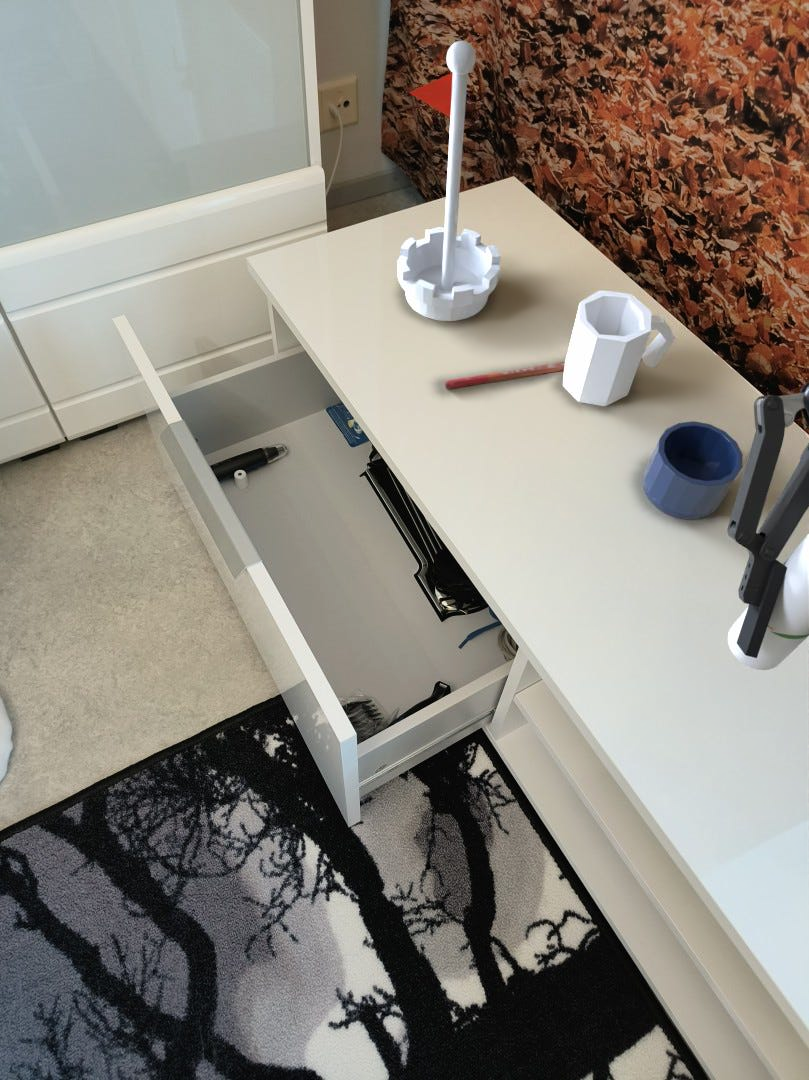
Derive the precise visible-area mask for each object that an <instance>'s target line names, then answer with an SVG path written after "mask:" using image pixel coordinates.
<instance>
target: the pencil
mask: <svg viewBox="0 0 809 1080" xmlns="http://www.w3.org/2000/svg"><path fill="white" fill-rule="evenodd" d="M564 367H565V361H561V362H555V363H549V364H548V363H547V364H542V365H536V366H529V367H524V368H523V367H522V368H518V369H517V368H516V369H512V370H505V371H498V372H493V373H487V374H480V375H473V376H468V377H462V378H455V379H449V380H445V382H444V387H445V389H446V390H450V389H456V388H457V389H458V388H462V387H469V386H477V385H481V384H487V383H488V384H489V383H495V382H501V381H506V380H513V379H519V378H525V377H532V376H540V375H545V374H549V373H556V372H557V373H558V372H564Z"/></svg>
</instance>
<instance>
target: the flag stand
mask: <svg viewBox="0 0 809 1080" xmlns="http://www.w3.org/2000/svg"><path fill="white" fill-rule="evenodd" d="M476 55H477V54H476V51H475V48H474V46H473V45H472V44H471V43H470V42H468V41H466V40H457V41H454V42H453V43H452V44H451V46H450V47H449V48H448V50H447V53H446V65H447V67H448V69H449V71H450V73H448V74H446V75H444V76H442V77H440V78H437V79H435V80H433V81H431V82H429V83H426V84H424V85H422V86H419V87H418V88H415V89H413V90H411V91H409V92H408V93H409V94H410V95H412V96H414V97H415V98H417V99H419V100H421V101H422V102H424V103H425V104H427V105H429V106H430V107H432V108H434V109H435V110H437V111H438V112H440V113H442V114H443V115H445V116H447V117H448V118H449V119H450V122H449V134H448V135H449V139H448V156H447V157H448V158H447V173H446V192H445V193H446V194H445V212H444V226H440V227H439V226H438V227H433V228H428V229H427V228H426V229H425V237H423V238H421V239H418V240H417V239H415V238H413V237H411V236H410V237H408V238H407V239H406V240H405V241H404V242H403V244H402V245H401V246H400V250H399V251H400V255H399V258H398V259H397V261H396V263H397V279H398V282H399V284H400V286H401V289H403V290H404V291H405V293H404V294H405V298H406V301H407V303H408V304H409V306H410V307H411V308H412V310H414V311H415V312H417V313H418V314H419V315H420V316H423V317H425V318H427V319H432V320H436V321H439V322H454V321H455V322H456V321H463V320H465V319H468V318H470V317H473V316H475V315H476V314H478V313H480V312H481V311H482V310H483V308H485V307H486V305H487V303H488V300H489V296H490V294H491V293H493V292H494V291H495V288H496V287H497V286H498V283H499V278H500V271H501V269H500V261H501V254H500V251H499V249H498V248H497V247H496V245H495V244H491V245H488V246H487V245H485V244H484V243H483V242H482V241H481V240H482V234H480V233H478V232H477V231H474V230H470V229H467V228H463V229H462V231H461V234H460V235H457V234H458V233H457V232H458V219H459V218H458V217H459V204H460V191H461V190H460V189H461V176H462V164H463V163H462V162H463V146H464V133H465V132H464V131H465V119H466V117H465V116H466V103H467V91H468V90H467V86H468V75H469V73H470V72H471V71H472V70H473V68H474V67H475V64H476V58H477V56H476Z"/></svg>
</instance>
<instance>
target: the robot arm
mask: <svg viewBox="0 0 809 1080" xmlns="http://www.w3.org/2000/svg"><path fill="white" fill-rule="evenodd" d="M799 411H801V413H802V415H803V416H802V417H803V418H804V422H805V424H806V426H807V429H808V430H809V380H808V381H807V382H806V383H805V384H804V385H803V386H802V387H801V389H800V391H799V392H796V393H790V394H784V395H783V394H782V395H761V396H758V397H757V398H756V399H755V400H754V402H753V415H754V427H755V433H754V436H753V440H752V443H751V446H750V449H749V453H748V457H747V460H746V463H745V466H744V470H743V474H742V476H741V480H740V484H739V488H738V490H737V494H736V498H735V502H734V505H733V508H732V512H731V514H730V519H729V521H728V525H727V530H726V533H727V535H728V536H729V538H730V539H732V541H734V542H736V543H737V544H738V545H740V546H742V547H743V548H744V549H746V550H747V551H748V552H747V553H748V559H747V562H746V565H745V569H744V572H743V575H742V577H741V581H740V584H739V587H738V598H739V599H740V601H741V602H743V603H744V604H747V605H748V606H747V608H748V609H747V608H746V609H747V612H746V615H745V618H744V621H743V624H742V627H741V630H740V633H739V636H738V640H737V645H738V646H739V647H740V649H741V650H742V651H743V653H744V654H745V655H746V656H750V657H754V658H757V656H758V653H759V650H760V647H761V644H762V641H763V638H764V635H765V632H766V630H767V627H768V624H769V621H770V618H771V615H772V612H773V609H774V606H775V603H776V600H777V597H778V594H779V591H780V588H781V585H782V582H783V579H784V576H785V573H786V570H787V567H786V566H785V565H783V564H784V563H782V562H781V561H779V560H778V557H780V554H781V553H782V552H783V550H784V548H785V546H786V544H787V543H788V541H789V540H790V538H791V536H792V535H793V533H794V531H795V530H796V528H798V527H797V526H798V525H799V523H800V521H801V520H802V518H803V517H804V515H805V513H806V512H807V511H808V508H809V442H808V443H807V445H806V446H805V448H804V450H803V451H802V453H801V455H800V458H799V462H798V464H797V466H796V467H795V469H794V471H793V472H792V474H791V475H790V477H789V479H788V481H787V482H786V484H785V486H784V488H783V489H782V490H781V492H780V494H779V496H778V497H777V499H776V501H775V503H774V504H773V506H772V507H771V509H770V511H769V513H768V515H767V516H766V518H765V519H764V521H763V523H762V524H761V526H760V528H759V529H758V526H759V523H760V520H761V516H762V513H763V511H764V506H765V503H766V500H767V496H768V493H769V490H770V486H771V483H772V481H773V477H774V473H775V470H776V466H777V463H778V460H779V457H780V453H781V450H782V447H783V443H784V438H785V434H786V433H785V431H786V428H789V427H790V426H792V425H793V424H794V422H795V418H796V415H797V414H798V412H799ZM757 530H758V531H757Z"/></svg>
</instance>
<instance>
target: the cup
mask: <svg viewBox="0 0 809 1080" xmlns="http://www.w3.org/2000/svg"><path fill="white" fill-rule="evenodd" d="M743 460H744V454H743V452H742V450H741V448H740V446H739V444H738V442H737V441H736V440H735V439H734V438H733V437H732V436H731V435H730V434H729V433H728V432H727V431H725V430H723V429H721V428H719V427H717V426H715V425H713V424H710V423H707V422H701V421H694V420H693V421H692V420H691V421H683V422H677V423H676V424H673V425H672V426H670V427H668V428H666V429H665V431H664V432H663V433H662V434H661V435H660V437H659V439H658V441H657V443H656V445H655V448H654V450H653V453H652V454H651V457H650V459H649V461H648V464H647V466H646V468H645V472H644V475H643V477H642V486H643V490H644V493H645V495H646V497H647V499H648V500H649V502H650V503H651V504H652V505H653V506H654V507H655V508H656V509H658V510H659V511H661V512H662V513H664V514H666V515H668V516H671V517H672V518H676V519H681V520H698V519H703V518H706V517H708V516H710V515H711V514H713V513H714V512H715V511H716V510H717V509H718V507H719V506H720V505H721V503H722V501H723V500H724V498H725V497H726V495H727V493H728V492H729V490H730V489H731V487H732V485H733V484H734V482H735V480H736V479H737V477H738V476H739V474H740V473H741V471H742V469H743V467H744V463H743V462H744V461H743Z"/></svg>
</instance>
